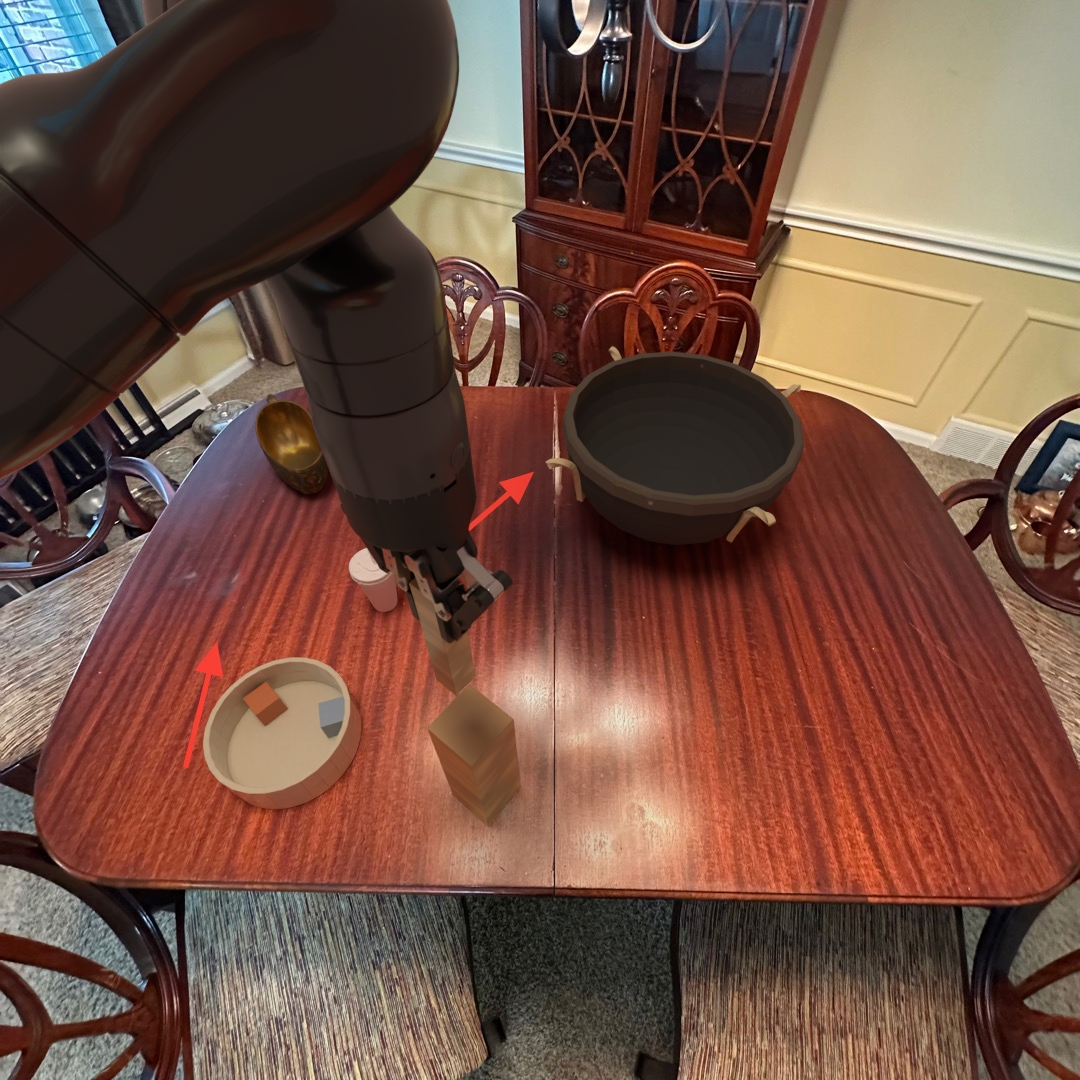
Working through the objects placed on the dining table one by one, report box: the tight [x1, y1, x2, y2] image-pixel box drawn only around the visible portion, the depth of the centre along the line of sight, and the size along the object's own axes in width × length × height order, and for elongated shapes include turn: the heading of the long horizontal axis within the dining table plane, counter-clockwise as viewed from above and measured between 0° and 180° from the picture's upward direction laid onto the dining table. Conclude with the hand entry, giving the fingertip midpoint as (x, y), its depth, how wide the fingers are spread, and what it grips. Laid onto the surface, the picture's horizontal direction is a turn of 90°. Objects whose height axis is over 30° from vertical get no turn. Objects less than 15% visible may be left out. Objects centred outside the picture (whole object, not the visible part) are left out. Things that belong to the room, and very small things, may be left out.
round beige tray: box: [202, 656, 362, 810], centre depth 76 cm, size 17×17×6 cm
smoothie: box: [348, 547, 399, 613], centre depth 87 cm, size 6×6×14 cm
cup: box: [254, 393, 329, 495], centre depth 108 cm, size 13×20×10 cm, turn 4°
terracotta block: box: [243, 682, 288, 726], centre depth 79 cm, size 3×3×3 cm
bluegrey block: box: [318, 696, 345, 738], centre depth 78 cm, size 3×3×3 cm
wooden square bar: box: [409, 577, 476, 697], centre depth 47 cm, size 2×2×14 cm
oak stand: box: [426, 683, 522, 828], centre depth 66 cm, size 6×6×20 cm
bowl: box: [545, 345, 805, 546], centre depth 96 cm, size 35×35×20 cm
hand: (441, 622), depth 45 cm, fingers closed on wooden square bar, 2 cm apart
